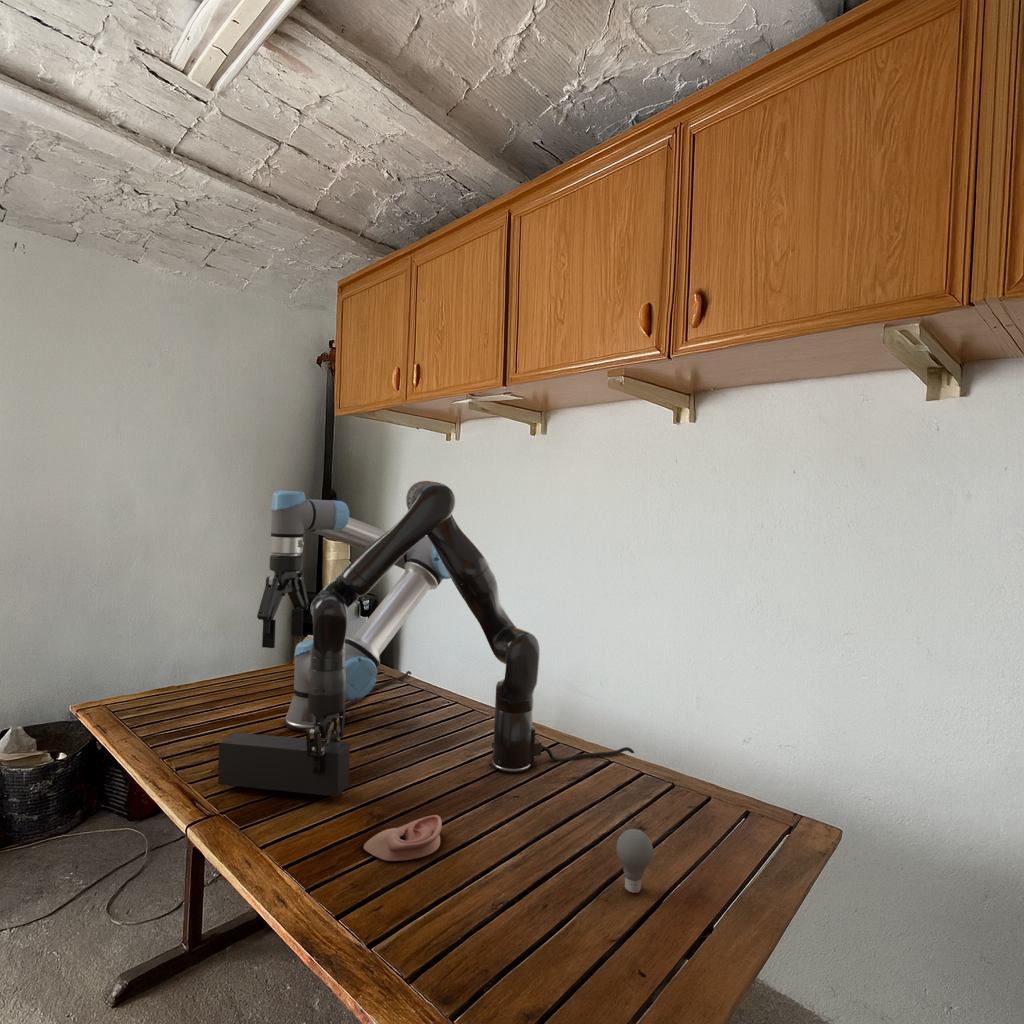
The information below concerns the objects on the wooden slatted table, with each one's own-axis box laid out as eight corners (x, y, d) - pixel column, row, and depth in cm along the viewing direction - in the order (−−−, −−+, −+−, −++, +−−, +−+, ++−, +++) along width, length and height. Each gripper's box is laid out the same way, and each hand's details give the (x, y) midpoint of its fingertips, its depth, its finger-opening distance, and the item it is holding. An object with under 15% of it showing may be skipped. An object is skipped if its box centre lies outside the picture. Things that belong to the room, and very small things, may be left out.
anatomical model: (356, 833, 112) (382, 804, 123) (355, 856, 112) (381, 824, 123) (428, 845, 109) (448, 813, 121) (427, 868, 109) (447, 834, 121)
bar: (217, 784, 134) (218, 742, 134) (234, 772, 140) (234, 732, 140) (337, 796, 130) (338, 753, 130) (349, 784, 136) (349, 742, 135)
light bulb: (610, 879, 108) (613, 822, 108) (644, 879, 109) (647, 822, 109) (619, 902, 102) (622, 840, 102) (655, 901, 103) (658, 840, 103)
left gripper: (274, 559, 141) (270, 654, 141) (323, 551, 166) (320, 632, 166) (242, 557, 142) (239, 651, 142) (297, 549, 167) (293, 630, 167)
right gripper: (329, 700, 125) (327, 784, 126) (357, 679, 139) (356, 755, 140) (293, 697, 126) (292, 780, 127) (325, 677, 141) (324, 752, 141)
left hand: (283, 641), depth 154 cm, fingers open, 13 cm apart
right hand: (325, 766), depth 133 cm, fingers closed on bar, 6 cm apart
